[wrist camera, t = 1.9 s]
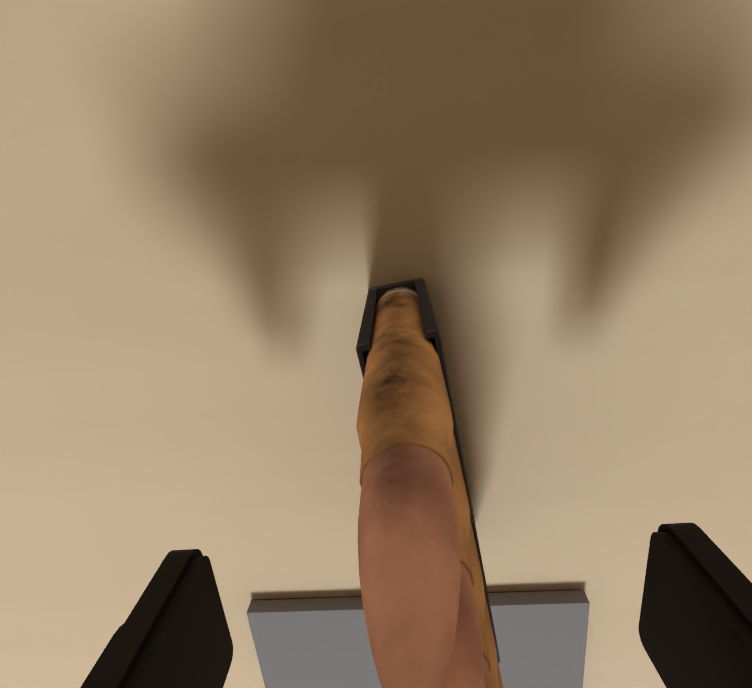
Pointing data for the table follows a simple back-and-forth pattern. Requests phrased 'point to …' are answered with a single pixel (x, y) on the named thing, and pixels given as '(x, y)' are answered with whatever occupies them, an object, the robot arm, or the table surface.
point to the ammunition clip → (417, 507)
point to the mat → (353, 651)
